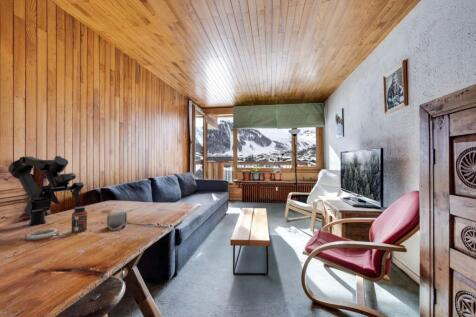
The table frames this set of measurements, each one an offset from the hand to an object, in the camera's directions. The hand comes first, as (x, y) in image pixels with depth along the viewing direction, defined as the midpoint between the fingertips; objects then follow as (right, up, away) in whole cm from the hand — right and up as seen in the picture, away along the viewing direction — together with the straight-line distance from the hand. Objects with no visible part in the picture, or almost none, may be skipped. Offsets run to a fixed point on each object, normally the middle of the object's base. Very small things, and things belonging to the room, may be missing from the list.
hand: (69, 202), depth 104 cm
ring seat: (-4, -13, -9) cm, 17 cm away
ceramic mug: (+22, -14, +3) cm, 26 cm away
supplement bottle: (+7, -13, -3) cm, 16 cm away
